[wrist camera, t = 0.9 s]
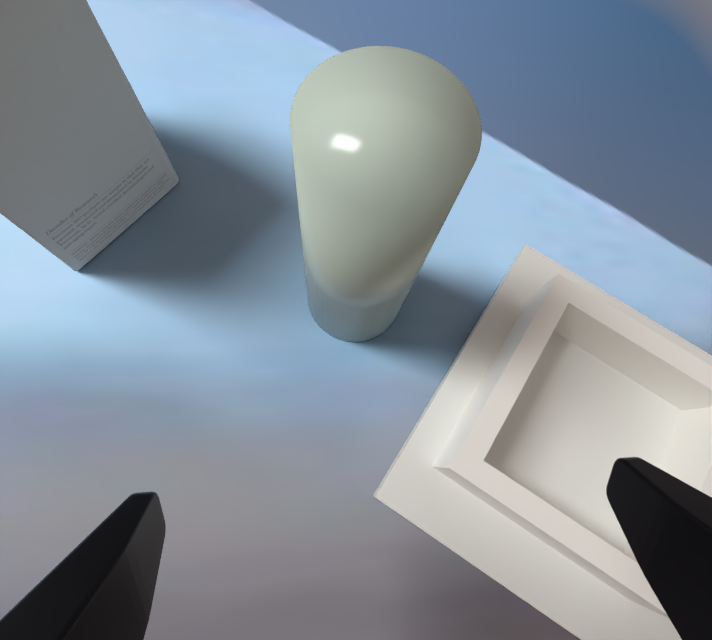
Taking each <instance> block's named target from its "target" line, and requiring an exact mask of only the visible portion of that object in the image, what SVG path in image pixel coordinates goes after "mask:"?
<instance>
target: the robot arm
mask: <svg viewBox="0 0 712 640" xmlns="http://www.w3.org/2000/svg"><path fill="white" fill-rule="evenodd" d="M606 494H607V498H608V501H609V503H610V505H611V507H612V510H613V512H614V514H615V516H616V518H617V520H618V522H619V524H620V526H621V529H622V531H623V533H624V535H625V537H626V539H627V541H628V543H629V545H630V548H631V550H632V552H633V554H634V556H635V558H636V560H637V562H638V564H639V566H640V568H641V570H642V572H643V574H644V576H645V578H646V579H647V581H648V583H649V585H650V586H651V588H652V590H653V592H654V593H655V595H656V597H657V598H658V600H659V602H660V603H661V605H662V607H663V609H664V610H665V612H666V614H667V615H668V617H669V619H670V620H671V622H672V624H673V625H674V627H675V629H676V631H677V632H678V634H679V636H680V637H681V639H682V640H712V497H710V496H708V495H706V494H705V493H703V492H701V491H699V490H697V489H696V488H694V487H692V486H690V485H688V484H687V483H685V482H683V481H681V480H679V479H678V478H676V477H674V476H672V475H670V474H669V473H667V472H665V471H663V470H661V469H660V468H658V467H656V466H654V465H652V464H650V463H649V462H647V461H645V460H643V459H641V458H639V457H624V458H618V459H617V460H616V461H615V462H614V464H613V467H612V471H611V474H610V477H609V480H608V483H607V487H606ZM164 538H165V520H164V516H163V512H162V508H161V504H160V501H159V497H158V495H157V493H155V492H141V493H134V494H132V495H130V496H129V497H128V498H127V499H126V500H125V501H124V502H123V503H122V504H121V505H120V506H119V507H118V508H117V509H116V510H115V511H113V512H112V513H111V514H110V515H109V516H108V517H107V518H106V519H105V520H104V521H103V522H102V523H101V524H100V525H99V526H98V527H97V528H96V529H95V530H94V531H93V532H92V533H91V534H90V535H88V536H87V537H86V538H85V539H84V540H83V541H82V542H81V543H80V544H79V545H78V546H77V547H76V548H75V549H74V550H73V551H72V552H71V553H70V554H69V555H68V556H67V557H66V558H65V559H64V560H62V561H61V562H60V563H59V564H58V565H57V566H56V567H55V568H54V569H53V570H52V571H51V572H50V573H49V574H48V575H47V576H46V577H45V578H44V579H43V580H42V581H41V582H40V583H39V584H37V585H36V586H35V587H34V588H33V589H32V590H31V591H30V592H29V593H28V594H27V595H26V596H25V597H24V598H23V599H22V600H21V601H20V602H19V603H18V604H17V605H16V606H15V607H14V608H12V609H11V610H10V611H9V612H8V613H7V614H6V615H5V616H4V617H3V618H2V619H1V620H0V640H143V639H144V635H145V632H146V628H147V624H148V620H149V616H150V611H151V606H152V601H153V596H154V590H155V585H156V580H157V575H158V569H159V564H160V559H161V554H162V548H163V543H164Z"/></svg>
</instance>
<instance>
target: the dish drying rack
mask: <svg viewBox="0 0 712 640" xmlns="http://www.w3.org/2000/svg"><path fill="white" fill-rule="evenodd" d="M624 457H639V458H641V459H643V460H645V461H647V462H649V463H650V464H652V465H654V466H656V467H658V468H660V469H661V470H663V471H665V472H667V473H669V474H670V475H672V476H674V477H676V478H678V479H679V480H681V481H683V482H685V483H687V484H688V485H690V486H692V487H694V488H696V489H697V490H699V491H701V492H703V493H705V494H706V495H708V496H710V497H712V356H711V355H710V354H708V353H706V352H705V351H703V350H701V349H700V348H698V347H696V346H695V345H693V344H691V343H690V342H688V341H686V340H685V339H683V338H681V337H680V336H678V335H676V334H675V333H673V332H671V331H670V330H668V329H666V328H665V327H663V326H661V325H660V324H658V323H656V322H655V321H653V320H651V319H650V318H648V317H646V316H645V315H643V314H641V313H640V312H638V311H636V310H635V309H633V308H631V307H630V306H628V305H626V304H625V303H623V302H621V301H620V300H618V299H616V298H615V297H613V296H611V295H610V294H608V293H606V292H605V291H603V290H601V289H600V288H598V287H596V286H595V285H593V284H591V283H590V282H588V281H586V280H585V279H583V278H581V277H580V276H578V275H576V274H575V273H573V272H572V271H570V270H568V269H567V268H565V267H563V266H562V265H560V264H558V263H557V262H555V261H553V260H552V259H550V258H548V257H547V256H545V255H543V254H542V253H540V252H538V251H537V250H535V249H533V248H532V247H530V246H528V245H527V244H526V245H525V246H524V247H523V248H522V249H521V250H520V251H519V253H518V255H517V256H516V258H515V260H514V261H513V263H512V265H511V266H510V268H509V270H508V271H507V273H506V275H505V276H504V278H503V280H502V281H501V283H500V285H499V286H498V288H497V290H496V291H495V293H494V295H493V296H492V298H491V300H490V301H489V303H488V305H487V306H486V308H485V310H484V311H483V313H482V315H481V316H480V318H479V320H478V321H477V323H476V325H475V326H474V328H473V330H472V332H471V333H470V335H469V337H468V338H467V340H466V342H465V343H464V345H463V347H462V348H461V350H460V352H459V353H458V355H457V357H456V358H455V360H454V362H453V363H452V365H451V367H450V368H449V370H448V372H447V373H446V375H445V377H444V378H443V380H442V382H441V383H440V385H439V387H438V388H437V390H436V392H435V393H434V395H433V397H432V398H431V400H430V402H429V403H428V405H427V407H426V408H425V410H424V412H423V413H422V415H421V417H420V418H419V420H418V422H417V423H416V425H415V427H414V428H413V430H412V432H411V433H410V435H409V437H408V438H407V440H406V442H405V443H404V445H403V447H402V448H401V450H400V452H399V453H398V455H397V457H396V458H395V460H394V462H393V463H392V465H391V467H390V468H389V470H388V472H387V473H386V475H385V477H384V478H383V480H382V482H381V483H380V485H379V487H378V488H377V490H376V492H375V493H374V495H373V496H374V497H376V498H377V499H379V500H380V501H382V502H383V503H384V504H386V505H387V506H389V507H390V508H392V509H393V510H395V511H396V512H397V513H399V514H400V515H402V516H403V517H405V518H406V519H408V520H409V521H410V522H412V523H413V524H415V525H416V526H418V527H419V528H421V529H422V530H423V531H425V532H426V533H428V534H429V535H431V536H432V537H433V538H435V539H436V540H438V541H439V542H441V543H442V544H444V545H445V546H446V547H448V548H449V549H451V550H452V551H454V552H455V553H457V554H458V555H459V556H461V557H462V558H464V559H465V560H467V561H468V562H470V563H471V564H472V565H474V566H475V567H477V568H478V569H480V570H481V571H483V572H484V573H485V574H487V575H488V576H490V577H491V578H493V579H494V580H496V581H497V582H498V583H500V584H501V585H503V586H504V587H506V588H507V589H509V590H510V591H511V592H513V593H514V594H516V595H517V596H519V597H520V598H522V599H523V600H524V601H526V602H527V603H529V604H530V605H532V606H533V607H535V608H536V609H537V610H539V611H540V612H542V613H543V614H545V615H546V616H547V617H549V618H550V619H552V620H553V621H555V622H556V623H558V624H559V625H560V626H562V627H563V628H565V629H566V630H568V631H569V632H571V633H572V634H573V635H575V636H576V637H578V638H579V639H581V640H682V639H681V637H680V636H679V634H678V632H677V631H676V629H675V627H674V625H673V624H672V622H671V620H670V619H669V617H668V615H667V614H666V612H665V610H664V609H663V607H662V605H661V603H660V602H659V600H658V598H657V597H656V595H655V593H654V592H653V590H652V588H651V586H650V585H649V583H648V581H647V579H646V578H645V576H644V574H643V572H642V570H641V568H640V566H639V564H638V562H637V560H636V558H635V556H634V554H633V552H632V550H631V548H630V545H629V543H628V541H627V539H626V537H625V535H624V533H623V531H622V529H621V526H620V524H619V522H618V520H617V518H616V516H615V514H614V512H613V510H612V507H611V505H610V503H609V501H608V498H607V494H606V487H607V483H608V480H609V477H610V474H611V471H612V467H613V464H614V462H615V461H616V460H617V459H618V458H624Z"/></svg>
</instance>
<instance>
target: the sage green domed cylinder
mask: <svg viewBox="0 0 712 640" xmlns="http://www.w3.org/2000/svg"><path fill="white" fill-rule="evenodd" d="M290 128H291V138H292V148H293V158H294V168H295V178H296V188H297V198H298V208H299V218H300V228H301V238H302V248H303V258H304V268H305V278H306V288H307V298H308V306H309V309H310V312H311V315H312V317H313V319H314V320H315V322H316V323H317V324H318V325H319V327H320V328H321V329H322V330H324V331H325V332H326V333H328V334H329V335H331V336H333V337H335V338H337V339H340V340H344V341H350V342H360V341H366V340H370V339H372V338H375V337H377V336H378V335H380V334H382V333H383V332H384V331H386V330H387V329H388V328H389V327H390V325H391V324H392V323H393V321H394V320H395V318H396V316H397V314H398V312H399V310H400V308H401V306H402V304H403V302H404V300H405V298H406V296H407V294H408V292H409V290H410V288H411V287H412V285H413V283H414V281H415V279H416V277H417V275H418V273H419V271H420V269H421V267H422V265H423V263H424V261H425V259H426V257H427V255H428V253H429V251H430V249H431V247H432V245H433V243H434V241H435V240H436V238H437V236H438V234H439V232H440V230H441V228H442V226H443V224H444V222H445V220H446V218H447V216H448V214H449V212H450V210H451V208H452V206H453V204H454V202H455V200H456V198H457V196H458V195H459V193H460V191H461V189H462V187H463V185H464V183H465V181H466V179H467V177H468V175H469V173H470V171H471V169H472V167H473V165H474V163H475V161H476V159H477V156H478V153H479V150H480V145H481V139H482V128H481V119H480V116H479V112H478V109H477V106H476V104H475V102H474V99H473V98H472V96H471V94H470V93H469V91H468V90H467V88H466V87H465V86H464V85H463V83H462V82H461V81H460V80H459V79H458V78H457V77H456V76H455V75H454V74H453V73H452V72H451V71H449V70H448V69H447V68H445V67H444V66H442V65H441V64H439V63H438V62H436V61H435V60H433V59H431V58H429V57H427V56H424V55H422V54H419V53H417V52H414V51H410V50H406V49H402V48H396V47H389V46H370V47H362V48H356V49H352V50H349V51H345V52H342V53H340V54H337V55H335V56H333V57H331V58H329V59H327V60H326V61H324V62H322V63H321V64H320V65H319V66H317V67H316V68H315V69H314V70H313V71H312V72H311V73H310V74H309V75H308V76H307V77H306V78H305V79H304V81H303V82H302V83H301V85H300V87H299V89H298V91H297V92H296V94H295V97H294V100H293V103H292V108H291V114H290Z"/></svg>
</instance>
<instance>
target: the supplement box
mask: <svg viewBox="0 0 712 640" xmlns="http://www.w3.org/2000/svg"><path fill="white" fill-rule="evenodd" d="M178 182H179V178H178V175H177V173H176V171H175V170H174V168H173V166H172V164H171V162H170V160H169V158H168V156H167V154H166V152H165V150H164V148H163V146H162V145H161V142H160V141H159V139H158V137H157V135H156V133H155V131H154V129H153V127H152V125H151V123H150V122H149V120H148V118H147V116H146V114H145V112H144V110H143V108H142V106H141V104H140V102H139V100H138V98H137V97H136V95H135V93H134V91H133V89H132V87H131V85H130V83H129V81H128V79H127V78H126V76H125V74H124V72H123V70H122V68H121V66H120V64H119V62H118V60H117V58H116V56H115V55H114V53H113V51H112V49H111V47H110V45H109V43H108V41H107V39H106V38H105V36H104V34H103V32H102V30H101V28H100V26H99V24H98V22H97V20H96V18H95V16H94V15H93V13H92V11H91V9H90V7H89V5H88V3H87V1H86V0H0V213H1V214H2V215H3V216H5V217H6V218H7V219H8V220H10V221H11V222H12V223H14V224H15V225H16V226H18V227H19V228H20V229H22V230H23V231H24V232H26V233H27V234H28V235H29V236H31V237H32V238H33V239H35V240H36V241H37V242H38V243H40V244H41V245H42V246H43V247H45V248H46V249H47V250H49V251H50V252H51V253H52V254H54V255H55V256H56V257H58V258H59V259H60V260H62V261H63V262H64V263H65V264H67V265H68V266H69V267H70V268H71V269H73V270H74V271H78V270H79V269H80V268H82V267H83V266H84V265H85V264H87V263H88V262H89V261H90V260H91V259H92V258H94V257H95V256H96V255H97V254H98V253H99V252H100V251H102V250H103V249H104V248H105V247H106V246H107V245H109V244H110V243H111V242H112V241H113V240H114V239H115V238H117V237H118V236H119V235H120V234H121V233H122V232H123V231H125V230H126V229H127V228H128V227H129V226H130V225H132V224H133V223H134V222H135V221H136V220H137V219H138V218H140V217H141V216H142V215H143V214H144V213H145V212H146V211H147V210H149V209H150V208H151V207H152V206H153V205H154V204H155V203H157V202H158V201H159V200H160V199H161V198H162V197H163V196H165V195H166V194H167V193H168V192H169V191H170V190H171V189H172V188H173V187H174V186H175V185H176V184H177V183H178Z"/></svg>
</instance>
